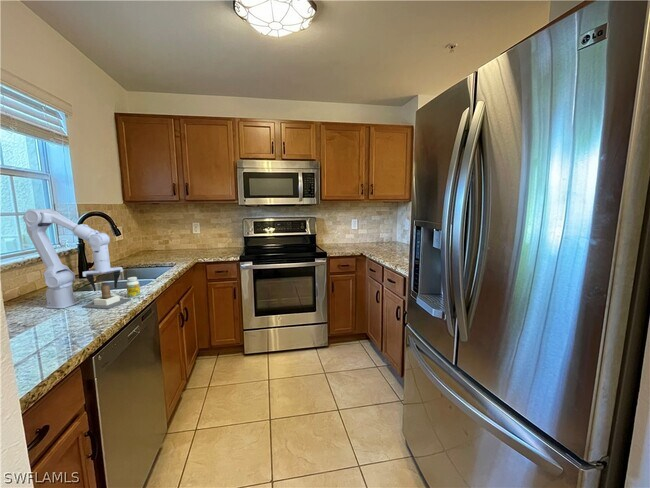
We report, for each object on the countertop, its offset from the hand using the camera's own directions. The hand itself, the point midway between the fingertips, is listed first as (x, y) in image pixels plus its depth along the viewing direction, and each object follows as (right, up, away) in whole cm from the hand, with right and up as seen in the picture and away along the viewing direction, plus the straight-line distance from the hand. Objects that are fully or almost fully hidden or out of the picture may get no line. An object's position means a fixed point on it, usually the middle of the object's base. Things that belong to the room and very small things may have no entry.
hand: (105, 289), depth 137 cm
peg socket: (0, -7, +1) cm, 7 cm away
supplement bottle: (+6, -6, +11) cm, 14 cm away
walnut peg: (0, -6, +1) cm, 6 cm away
